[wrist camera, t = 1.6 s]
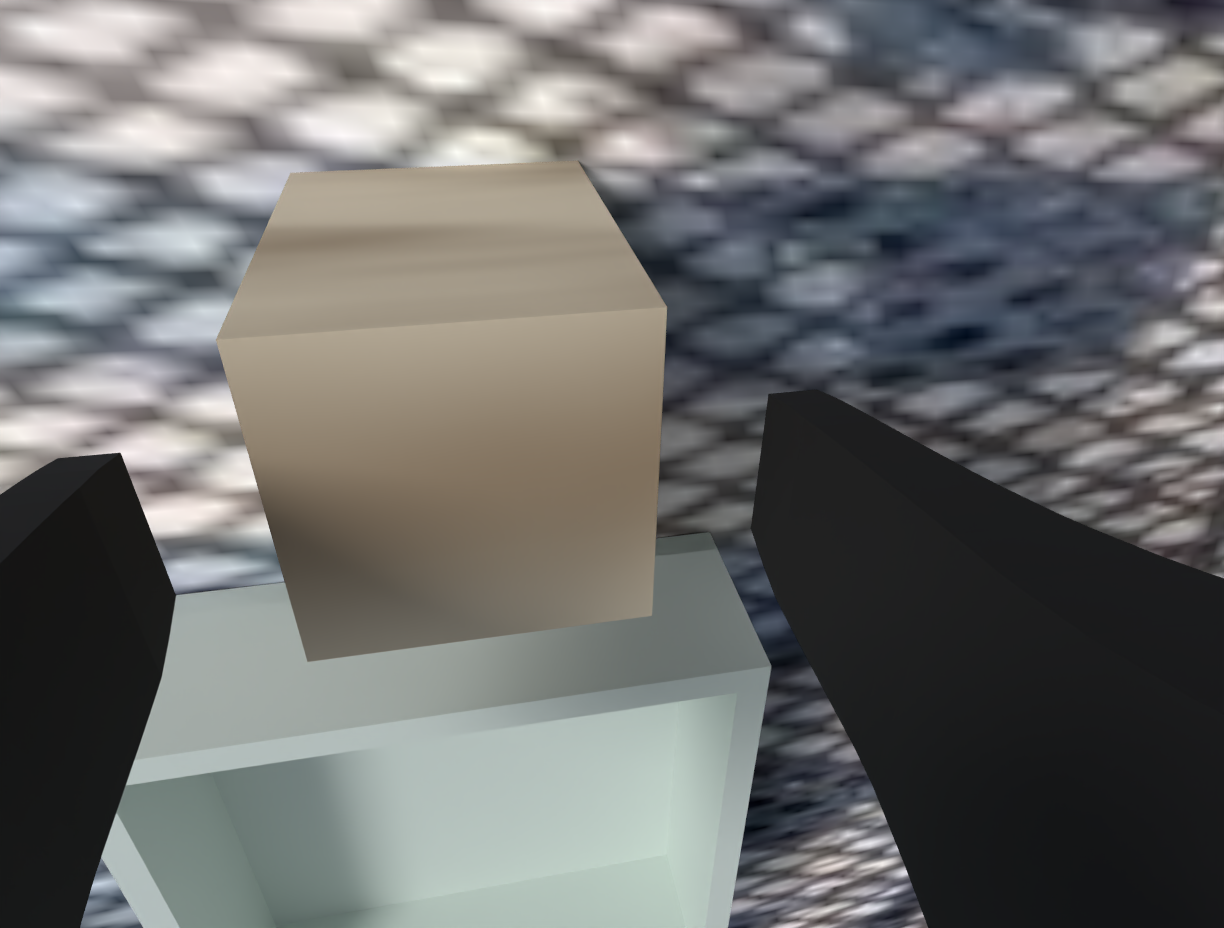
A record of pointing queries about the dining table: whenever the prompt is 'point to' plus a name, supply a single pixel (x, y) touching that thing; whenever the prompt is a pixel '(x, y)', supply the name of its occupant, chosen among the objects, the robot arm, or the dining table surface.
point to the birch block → (450, 404)
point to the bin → (449, 770)
